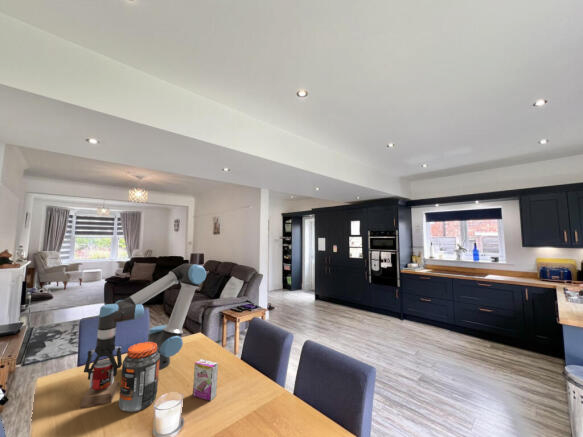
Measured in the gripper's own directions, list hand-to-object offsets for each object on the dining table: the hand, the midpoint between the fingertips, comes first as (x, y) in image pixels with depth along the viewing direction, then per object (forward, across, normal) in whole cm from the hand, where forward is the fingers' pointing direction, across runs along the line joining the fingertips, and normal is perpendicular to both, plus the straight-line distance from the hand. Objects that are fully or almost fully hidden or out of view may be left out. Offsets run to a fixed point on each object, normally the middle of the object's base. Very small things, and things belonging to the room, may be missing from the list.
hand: (101, 384), depth 122 cm
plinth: (+6, 0, 0) cm, 6 cm away
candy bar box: (+7, -48, +15) cm, 51 cm away
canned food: (+1, 0, 0) cm, 1 cm away
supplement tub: (+6, -18, +10) cm, 21 cm away
